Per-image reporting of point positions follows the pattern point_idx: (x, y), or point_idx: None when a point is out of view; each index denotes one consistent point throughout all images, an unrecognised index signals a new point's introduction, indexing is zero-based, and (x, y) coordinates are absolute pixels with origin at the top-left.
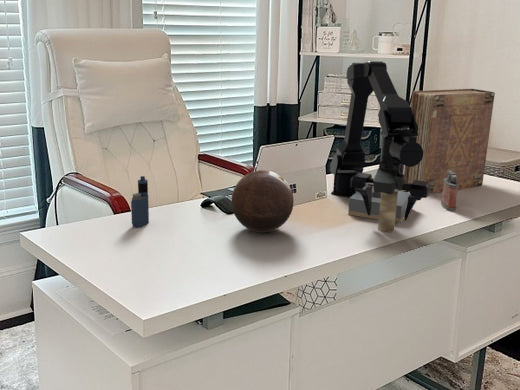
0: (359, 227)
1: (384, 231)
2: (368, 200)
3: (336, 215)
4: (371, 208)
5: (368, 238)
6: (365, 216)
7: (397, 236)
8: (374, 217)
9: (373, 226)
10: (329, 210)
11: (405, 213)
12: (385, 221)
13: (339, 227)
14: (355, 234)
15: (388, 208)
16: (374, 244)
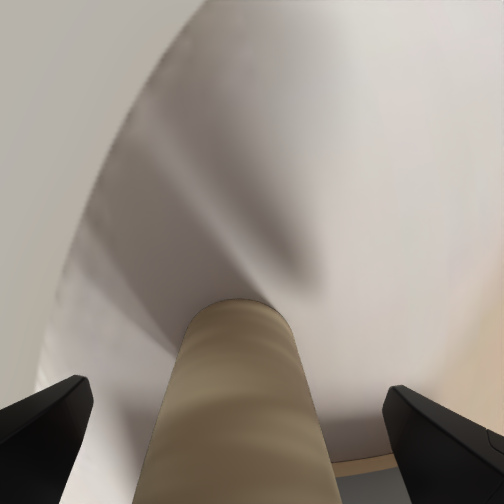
0: (409, 305)
1: (238, 299)
2: (477, 461)
3: (491, 400)
4: (364, 498)
5: (318, 105)
6: (377, 459)
7: (131, 247)
8: (334, 467)
9: (328, 366)
10: (500, 427)
11: (45, 406)
12: (236, 338)
13: (497, 246)
14: (414, 154)
15: (208, 434)
16: (250, 14)
